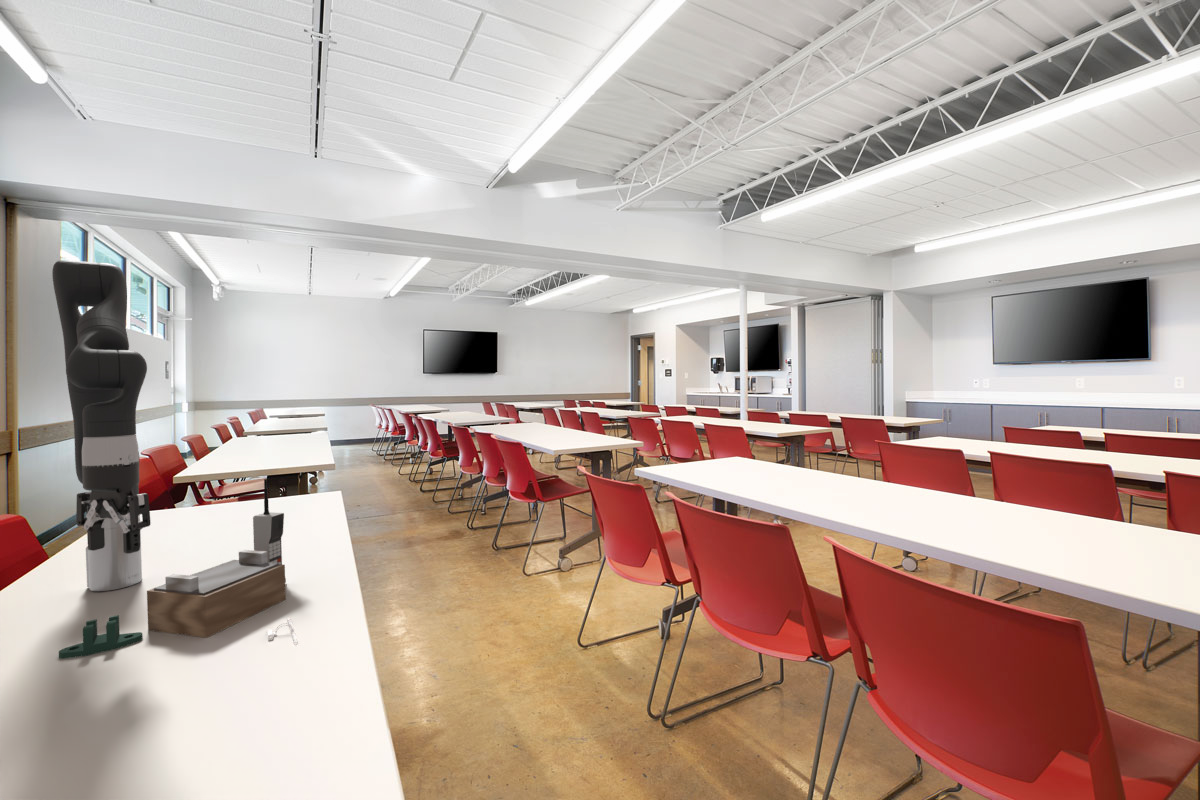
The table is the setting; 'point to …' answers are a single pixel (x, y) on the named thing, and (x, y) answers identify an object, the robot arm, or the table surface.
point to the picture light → (270, 632)
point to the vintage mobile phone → (268, 532)
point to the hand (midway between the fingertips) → (114, 550)
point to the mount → (100, 639)
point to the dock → (216, 596)
